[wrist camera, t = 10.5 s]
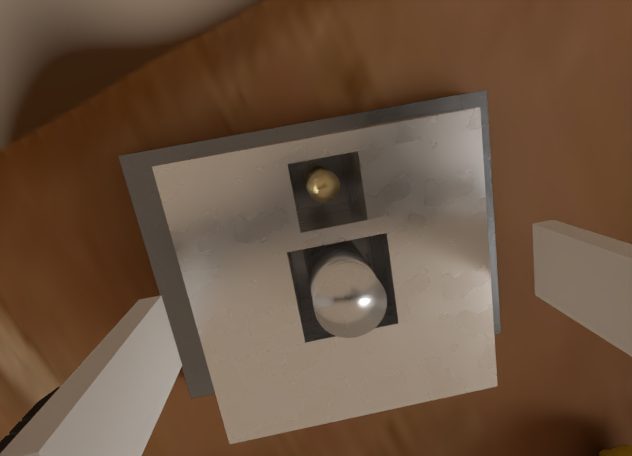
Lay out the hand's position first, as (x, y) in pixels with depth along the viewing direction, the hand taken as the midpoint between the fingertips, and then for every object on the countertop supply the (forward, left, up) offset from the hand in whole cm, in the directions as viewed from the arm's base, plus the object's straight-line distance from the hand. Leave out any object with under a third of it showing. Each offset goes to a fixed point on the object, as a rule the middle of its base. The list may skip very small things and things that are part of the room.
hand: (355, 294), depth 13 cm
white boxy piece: (0, 0, -5) cm, 5 cm away
